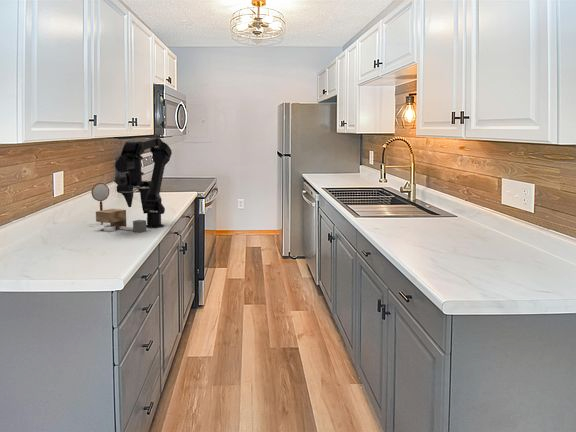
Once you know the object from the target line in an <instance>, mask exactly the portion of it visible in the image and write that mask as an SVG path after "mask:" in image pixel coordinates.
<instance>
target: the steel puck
mask: <svg viewBox="0 0 576 432" xmlns="http://www.w3.org/2000/svg"><path fill="white" fill-rule="evenodd" d="M116 231H117V228H116V226H115V225H110V224H107V225H104V226H103V232H105V233H113V232H116Z"/></svg>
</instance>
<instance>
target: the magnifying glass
mask: <svg viewBox="0 0 576 432" xmlns="http://www.w3.org/2000/svg"><path fill="white" fill-rule="evenodd" d="M91 196H92V198H93V199H94V200H95V201H98V202H99V211H102V210H103V202H104V201H105V200H107V199H108V197H109V196H110V188H109V187H108V185H107V184H105V183H103V182H98V183H96V184H95V185H93V186H92V188H91ZM100 224H101V225H104V222H100Z"/></svg>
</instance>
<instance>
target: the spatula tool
mask: <svg viewBox="0 0 576 432" xmlns="http://www.w3.org/2000/svg"><path fill="white" fill-rule="evenodd" d="M146 225H147V219H145V220H144V219H137V220H133V221H132V227H131V226H127V227H123V226H122V227H120V228H119V230H122V231H123V230H125V231H133V233H137V234H138V233H139V234H141V233H145V232H147V227H146Z"/></svg>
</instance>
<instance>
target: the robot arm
mask: <svg viewBox="0 0 576 432" xmlns="http://www.w3.org/2000/svg"><path fill="white" fill-rule="evenodd" d="M148 149H149V151H150V153H151V154H152V156H151V157H152V159H153V163H154V165H153V169H152V174H151V179H150V180H143V179H142V178H143V175H144V174H145V173H144V171H143V172H142V160H143V159H144V157H143V156H142V154H144V152H145V151H146V150H148ZM172 151H173V150H172V149H171V147H170V146H169V144H168V143H167V142H164V141H163V140H162V139H161V138H160V137H149V138H146V139H141V140H139V141H134V140H133V141H130V140H129V141H125V142H124V144H123V147H122V150H121V154H119V155H118V159H117V160H116V162H115V163H114V164H115V166H114V167H115V169H116V170H117V172H119V173H125V176H121V175H119V176H115V179H114V182H115V184H116V185H117V186H116V187H115V188H116V192H118V193H119V194H121V195H122V196H123V197H124V200H125V202H126V204H127V206H128V208H132V205H133V199H134V193H135V192H134V189H137V190H138V192H139V195H140V203H141V208H142V211H143V214H146V228H147V227H148V228H158V227H164V226H165V224H162V215H163V214H165V211H166V209H165V206H164V205H163V203H162V197H161V195H160V193H161V188H162V187H161V186H162V181H163V177H164V171H165V166H166V165H167V164H168V163H169V162H170V160H171V157H172V154H173V153H172Z"/></svg>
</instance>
